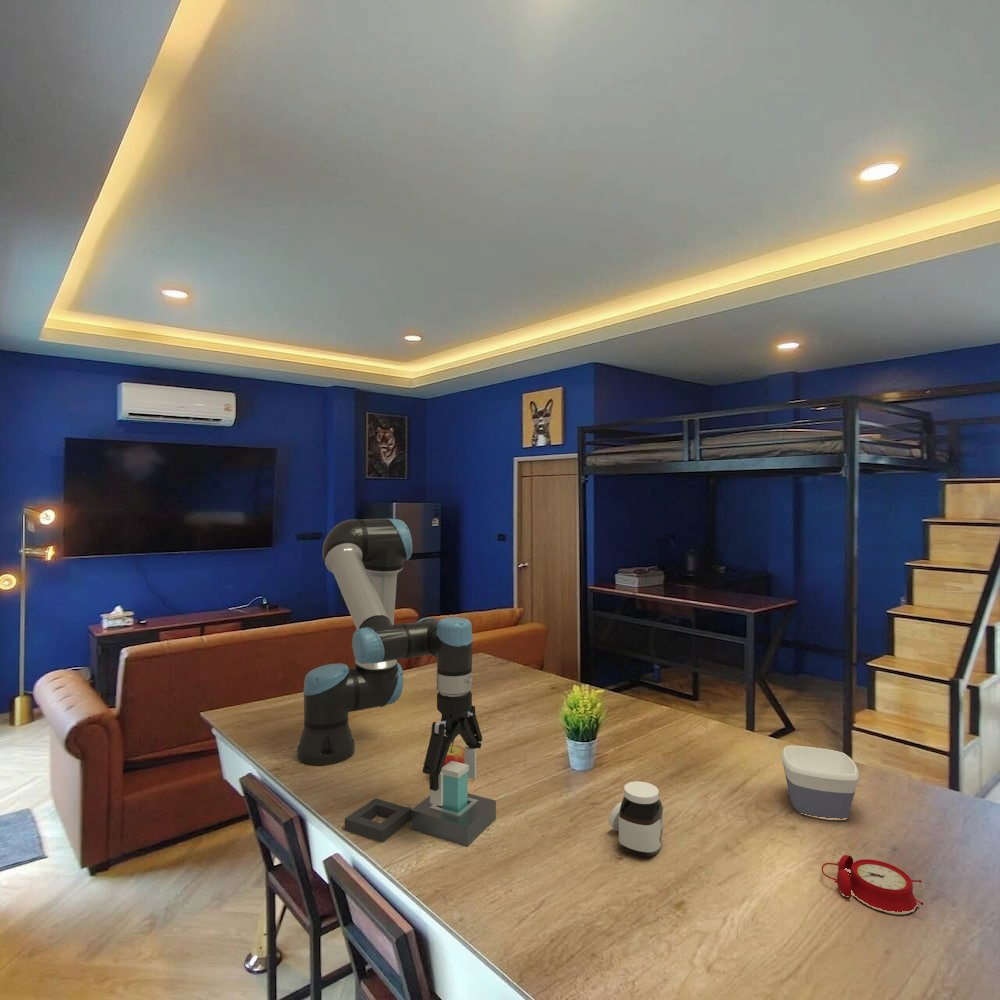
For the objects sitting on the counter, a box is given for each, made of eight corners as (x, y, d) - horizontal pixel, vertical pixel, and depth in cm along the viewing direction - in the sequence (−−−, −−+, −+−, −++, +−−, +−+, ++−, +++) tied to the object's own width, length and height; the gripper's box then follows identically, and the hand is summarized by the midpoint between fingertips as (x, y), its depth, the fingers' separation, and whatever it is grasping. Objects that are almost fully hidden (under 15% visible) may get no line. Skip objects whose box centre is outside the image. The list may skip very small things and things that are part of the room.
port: (410, 828, 129) (410, 808, 129) (442, 803, 140) (442, 785, 140) (467, 846, 123) (467, 825, 123) (495, 818, 133) (496, 799, 133)
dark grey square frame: (344, 829, 129) (344, 818, 129) (375, 808, 138) (375, 798, 138) (382, 842, 124) (382, 830, 124) (411, 819, 133) (411, 808, 133)
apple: (473, 775, 154) (473, 735, 154) (457, 789, 147) (457, 748, 147) (445, 769, 158) (445, 730, 158) (428, 783, 150) (428, 742, 150)
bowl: (849, 798, 143) (850, 750, 143) (865, 831, 129) (865, 779, 129) (778, 787, 148) (778, 742, 148) (785, 819, 134) (785, 768, 134)
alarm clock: (927, 905, 100) (826, 857, 108) (916, 939, 101) (817, 889, 109) (923, 873, 109) (830, 830, 117) (913, 904, 110) (822, 860, 118)
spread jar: (651, 865, 117) (652, 804, 117) (596, 847, 123) (596, 789, 123) (670, 836, 127) (670, 780, 127) (618, 821, 133) (618, 767, 133)
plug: (440, 825, 131) (440, 768, 131) (451, 816, 135) (451, 760, 135) (458, 830, 129) (458, 772, 129) (468, 821, 133) (468, 764, 133)
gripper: (436, 712, 119) (436, 821, 119) (497, 678, 141) (496, 770, 141) (405, 705, 122) (404, 812, 122) (469, 674, 144) (468, 764, 144)
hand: (454, 790), depth 131 cm, fingers open, 13 cm apart
